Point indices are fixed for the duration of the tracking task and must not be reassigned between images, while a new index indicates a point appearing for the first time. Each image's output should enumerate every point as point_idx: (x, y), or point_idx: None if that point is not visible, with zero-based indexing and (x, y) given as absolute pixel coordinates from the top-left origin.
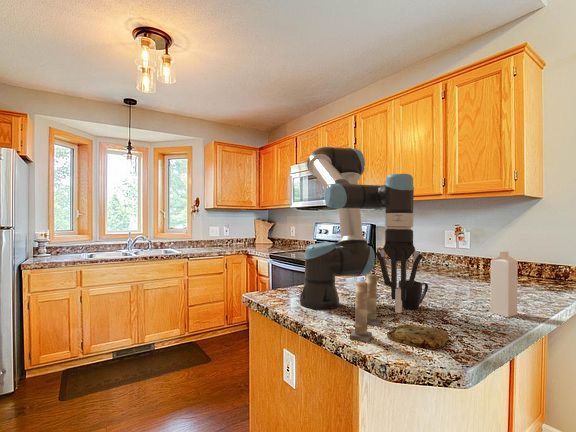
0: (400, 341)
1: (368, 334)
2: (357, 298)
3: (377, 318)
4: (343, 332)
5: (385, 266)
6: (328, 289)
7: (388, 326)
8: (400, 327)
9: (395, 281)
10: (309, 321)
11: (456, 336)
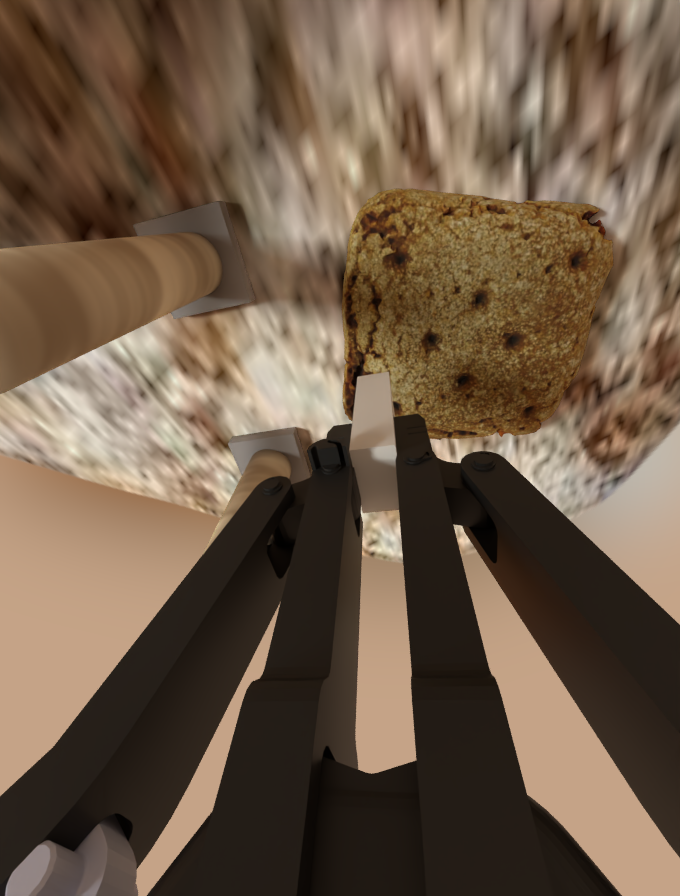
0: None
1: (294, 459)
2: None
3: (208, 218)
4: (205, 454)
5: (220, 679)
6: None
7: (296, 262)
8: (372, 314)
9: (360, 557)
10: (40, 430)
11: (662, 159)
